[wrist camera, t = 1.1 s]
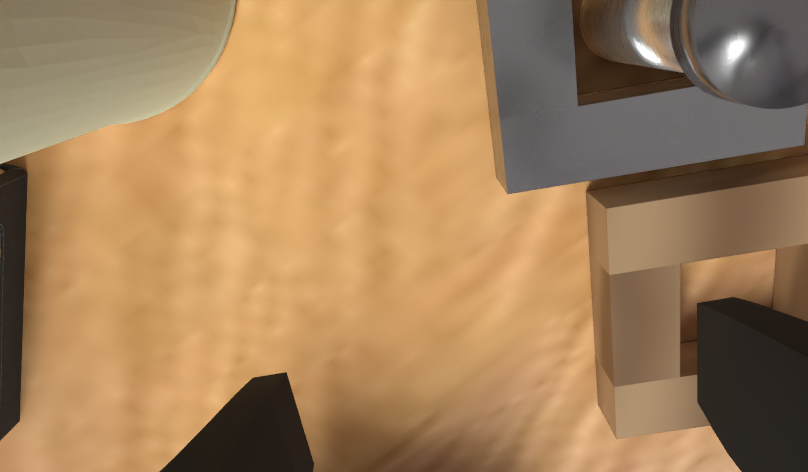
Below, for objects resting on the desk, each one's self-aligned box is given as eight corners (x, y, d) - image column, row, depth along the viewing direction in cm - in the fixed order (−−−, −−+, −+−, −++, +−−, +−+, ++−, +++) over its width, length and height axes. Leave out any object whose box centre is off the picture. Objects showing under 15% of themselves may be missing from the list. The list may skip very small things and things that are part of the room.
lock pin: (683, -61, 17) (915, -129, 9) (682, 64, 18) (887, 91, 11) (562, -38, 17) (696, -89, 10) (570, 83, 18) (694, 124, 11)
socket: (851, 147, 19) (901, 160, 17) (826, 370, 22) (866, 402, 20) (586, 191, 20) (606, 208, 18) (598, 404, 23) (616, 439, 21)
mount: (781, -185, 16) (833, -213, 14) (763, 133, 19) (804, 145, 17) (462, -125, 16) (471, -145, 14) (496, 177, 19) (507, 194, 17)
